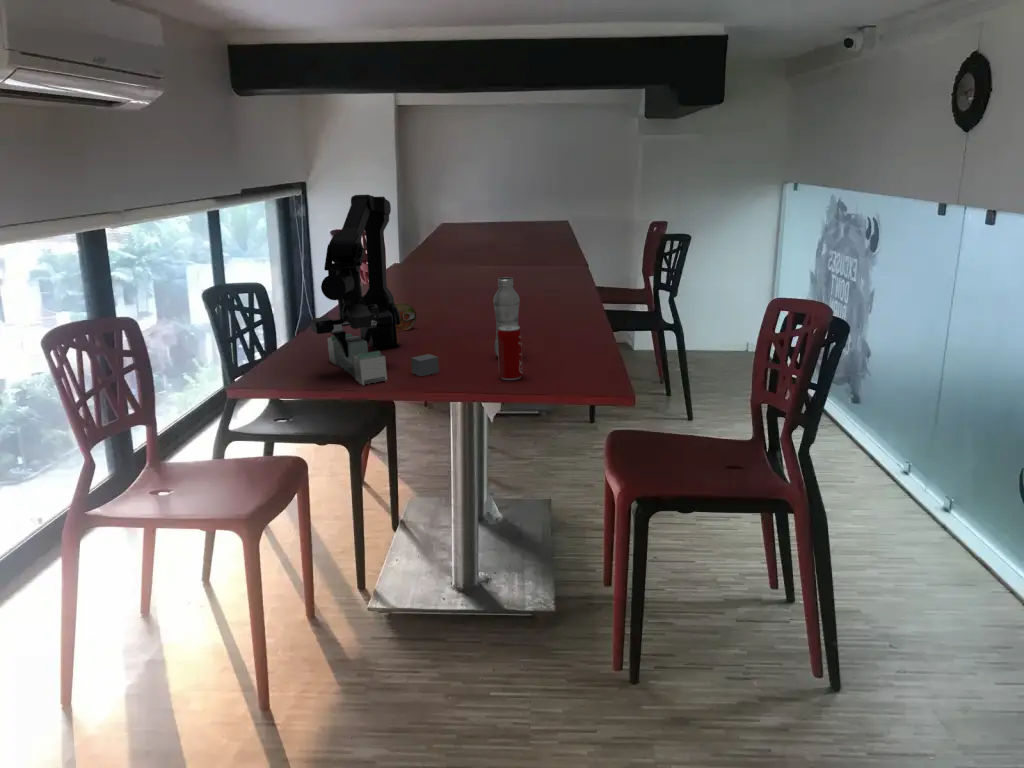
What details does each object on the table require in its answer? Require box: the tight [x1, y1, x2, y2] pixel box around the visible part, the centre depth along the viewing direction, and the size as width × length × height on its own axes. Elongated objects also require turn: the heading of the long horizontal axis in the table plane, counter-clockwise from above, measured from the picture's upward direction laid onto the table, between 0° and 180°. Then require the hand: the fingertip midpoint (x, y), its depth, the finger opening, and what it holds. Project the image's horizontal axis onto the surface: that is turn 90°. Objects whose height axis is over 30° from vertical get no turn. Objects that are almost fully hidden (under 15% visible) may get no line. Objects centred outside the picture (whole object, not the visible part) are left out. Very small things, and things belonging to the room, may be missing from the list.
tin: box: [394, 302, 417, 333], centre depth 228 cm, size 15×3×8 cm, turn 114°
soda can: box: [497, 325, 524, 381], centre depth 178 cm, size 6×6×12 cm
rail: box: [327, 333, 388, 386], centre depth 189 cm, size 6×26×7 cm, turn 29°
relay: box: [410, 353, 440, 377], centre depth 185 cm, size 5×4×4 cm
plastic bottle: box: [492, 276, 521, 357], centre depth 194 cm, size 6×7×20 cm
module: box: [343, 335, 369, 364], centre depth 188 cm, size 4×7×5 cm, turn 29°
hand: (355, 355), depth 189 cm, fingers closed on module, 4 cm apart
